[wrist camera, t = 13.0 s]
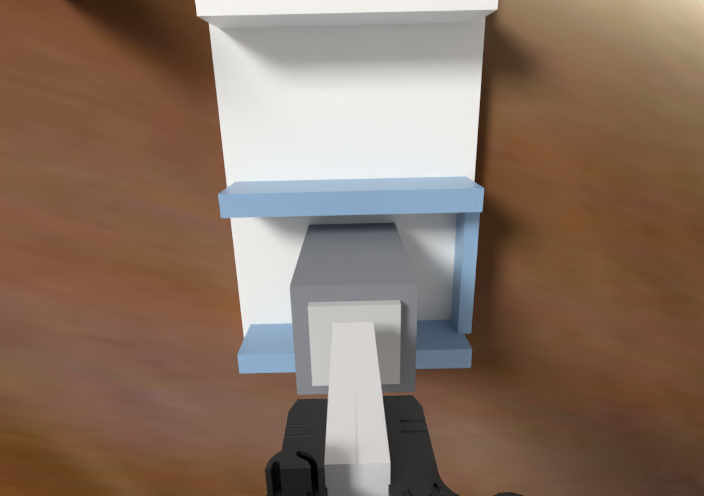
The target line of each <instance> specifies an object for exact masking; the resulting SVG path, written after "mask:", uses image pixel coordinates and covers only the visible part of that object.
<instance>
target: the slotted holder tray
mask: <svg viewBox="0 0 704 496" xmlns="http://www.w3.org/2000/svg"><path fill="white" fill-rule="evenodd" d="M195 3H196V12H197V16H198V17H200V18H201V19H203V20H205V21H207V22H208V23H209V29H210V38H211V47H212V56H213V65H214V74H215V83H216V92H217V101H218V110H219V119H220V128H221V136H222V145H223V154H224V163H225V172H226V181H227V188H226V189H225V190H223V191H222V192H221V193H219V194H218V196H219V205H220V213H221V218H231V226H232V235H233V244H234V253H235V262H236V271H237V279H238V288H239V297H240V306H241V315H242V324H243V333H244V341H243V343H242V345H241V348H240V350H239V352H238V354H237V356H238V364H239V373H277V372H296V368H295V354H294V340H293V326H292V312H291V298H290V284H291V280H292V277H293V274H294V271H295V267H296V264H297V261H298V258H299V255H300V251H301V248H302V245H303V242H304V238H305V235H306V232H307V229H308V225H313V224H356V223H395V225H396V228H397V230H398V233H399V235H400V238H401V241H402V243H403V246H404V248H405V251H406V253H407V256H408V259H409V261H410V264H411V266H412V269H413V271H414V274H415V277H416V279H417V282H418V303H417V338H416V369H442V368H471V358H472V348H471V346H470V344H469V342H468V340H467V338H466V336H465V334H471V329H472V316H473V302H474V288H475V274H476V261H477V247H478V233H479V219H480V212H482V210H483V197H484V188H483V187H482V186H480V185H479V184H477V183H475V182H474V180H475V165H476V150H477V135H478V120H479V105H480V91H481V76H482V61H483V46H484V31H485V17H486V16H488V15H489V14H491V13H493V12H494V11H496V10H497V9H498V0H195Z"/></svg>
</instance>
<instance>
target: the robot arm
mask: <svg viewBox="0 0 704 496" xmlns="http://www.w3.org/2000/svg"><path fill="white" fill-rule="evenodd" d="M286 425H287V426H286V430H285V437H284V441H283V446H282V451H280V452H278V453H276V454H275V455H274V456H273V457H272V458H271V459H270V460H269V462H268V464H267V466H266V468H265V474H266V483H267V492H268V494H267V495H266V496H459V495H457V494H456V493H454V492H452V491H451V490H450V489H449V488H448V487H447V486H446V485H445V484H444V483H443V481H442V480H441V478H440V475H439V473H438V469H437V465H436V461H435V457H434V453H433V449H432V445H431V441H430V437H429V433H428V429H427V424H426V422H425V416H424V412H423V408H422V406H421V405H420V403H419V402H418V401H417V400H416V399H415V398H414V396H413V395H405V396H382V389H381V381H380V372H379V364H378V356H377V348H376V339H375V331H374V323H373V322H341V323H332V340H331V357H330V375H329V392H328V399H298V400H297V401H296V402H295V404H294V405H293V406H292V408H291V409H290V410H289V413H288V419H287V424H286ZM494 496H523V495H520V494H516V493H512V492H504V493H498V494H496V495H494Z"/></svg>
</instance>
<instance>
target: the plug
mask: <svg viewBox="0 0 704 496" xmlns="http://www.w3.org/2000/svg"><path fill="white" fill-rule="evenodd" d="M290 298H291V312H292V326H293V340H294V354H295V368H296V382H297V395H302V394H328V392H329V375H330V357H331V340H332V323H341V322H373V323H374V331H375V339H376V348H377V356H378V364H379V372H380V381H381V389H382V393H384V392H415V374H416V338H417V303H418V282H417V279H416V277H415V274H414V271H413V269H412V266H411V264H410V261H409V259H408V256H407V253H406V251H405V248H404V246H403V243H402V241H401V238H400V235H399V233H398V230H397V228H396V225H395V223H356V224H313V225H308V229H307V232H306V235H305V238H304V242H303V245H302V248H301V251H300V255H299V258H298V261H297V264H296V267H295V271H294V274H293V277H292V280H291V284H290Z"/></svg>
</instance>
